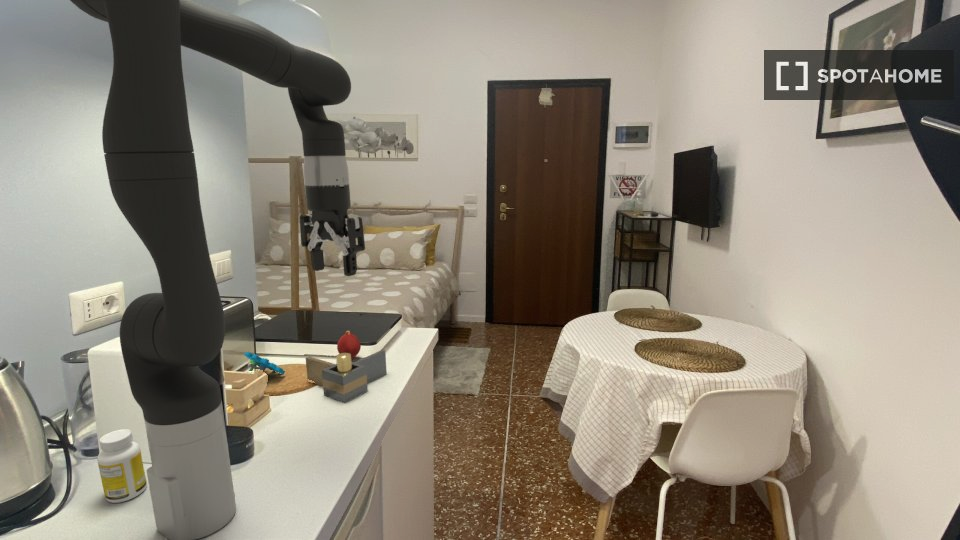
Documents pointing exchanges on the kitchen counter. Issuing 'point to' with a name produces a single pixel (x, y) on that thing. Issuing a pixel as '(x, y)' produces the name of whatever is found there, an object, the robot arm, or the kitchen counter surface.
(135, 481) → the supplement bottle
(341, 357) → the hinge pin
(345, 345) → the onion
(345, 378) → the hinge
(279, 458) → the kitchen counter surface
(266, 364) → the blue fuzzy lump
